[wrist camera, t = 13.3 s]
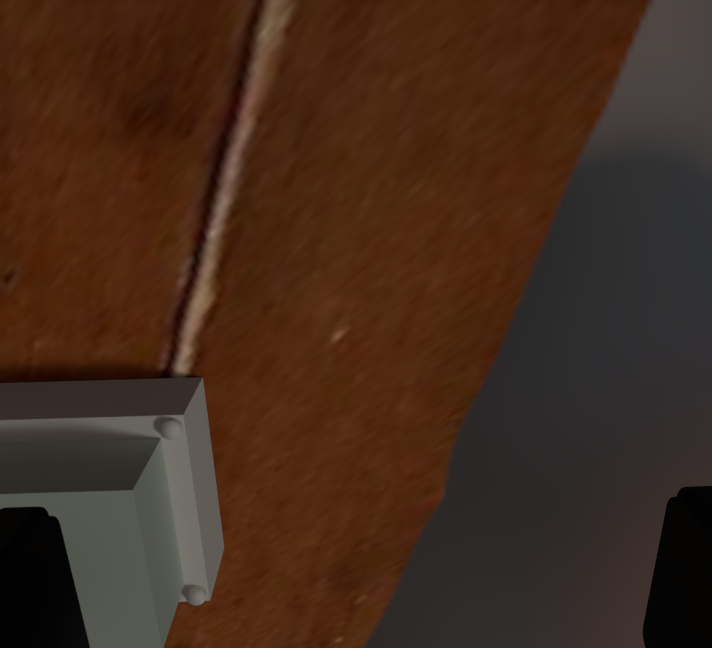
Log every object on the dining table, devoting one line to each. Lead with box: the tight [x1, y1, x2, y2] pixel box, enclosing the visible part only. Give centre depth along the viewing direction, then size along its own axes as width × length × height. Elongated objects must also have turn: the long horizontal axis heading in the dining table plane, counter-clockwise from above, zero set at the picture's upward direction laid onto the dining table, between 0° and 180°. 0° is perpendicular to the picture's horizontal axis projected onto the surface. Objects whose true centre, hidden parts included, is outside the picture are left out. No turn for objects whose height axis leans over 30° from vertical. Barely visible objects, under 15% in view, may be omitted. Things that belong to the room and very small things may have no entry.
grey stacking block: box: [0, 377, 224, 648], centre depth 37 cm, size 14×14×10 cm
